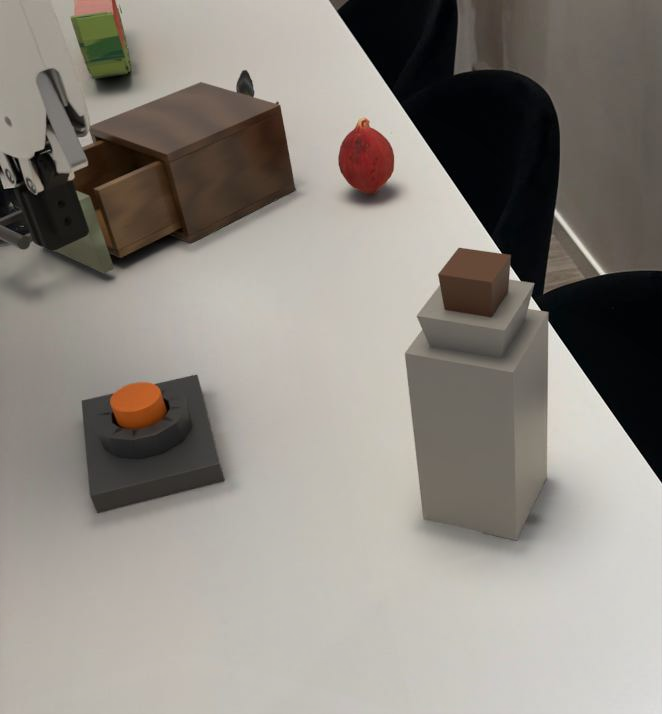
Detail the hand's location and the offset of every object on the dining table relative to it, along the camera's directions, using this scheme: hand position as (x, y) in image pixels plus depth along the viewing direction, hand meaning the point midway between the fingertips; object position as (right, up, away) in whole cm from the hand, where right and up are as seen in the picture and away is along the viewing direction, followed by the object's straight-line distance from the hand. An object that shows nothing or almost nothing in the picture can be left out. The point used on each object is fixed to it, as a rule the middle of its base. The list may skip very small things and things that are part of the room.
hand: (62, 239), depth 64 cm
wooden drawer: (-10, +9, +32) cm, 35 cm away
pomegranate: (+16, +16, +40) cm, 46 cm away
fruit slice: (-25, +46, +73) cm, 90 cm away
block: (+3, -13, +9) cm, 16 cm away
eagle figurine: (0, +28, +53) cm, 60 cm away
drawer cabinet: (-2, +16, +40) cm, 43 cm away
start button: (+3, -11, +7) cm, 13 cm away
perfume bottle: (+28, -17, +4) cm, 33 cm away
